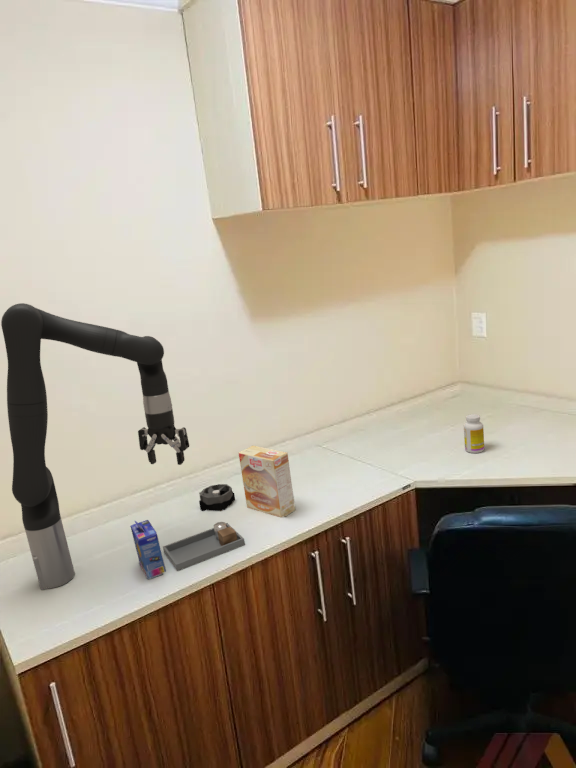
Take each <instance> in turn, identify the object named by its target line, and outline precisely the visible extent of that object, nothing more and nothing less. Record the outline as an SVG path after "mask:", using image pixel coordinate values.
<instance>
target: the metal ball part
mask: <svg viewBox="0 0 576 768" xmlns="http://www.w3.org/2000/svg"><path fill="white" fill-rule="evenodd" d="M226 523H227V522H224V521H218V522H215V524H213V528H214V531H215V537H216V540H219V538H218V532H217V531H219V530H222V529H225V528H227V527H226Z"/></svg>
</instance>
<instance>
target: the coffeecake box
mask: <svg viewBox="0 0 576 768" xmlns="http://www.w3.org/2000/svg"><path fill="white" fill-rule="evenodd" d="M238 458H239V465H240V471H241V478H242V483H243V490H244V496H245V502H246V508H248V509H250V510H253V511H257V512H260V513H264V514H266V515H270V516H275V517H277V518H283V517H285V518H286V517H287V516H288V515H290V514H292V513H293V512H295V511H296V506H295V505H296V504H295V499H294V490H293V482H292V475H291V469H290V468H291V466H290V462H289V454H288V452H285V451H281V450H276V449H271V448H267V447H262V446H257V445H251V446H249V447H247V448H246V449H245V448H244V449H243V450H241V451H239V452H238Z"/></svg>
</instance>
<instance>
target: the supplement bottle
mask: <svg viewBox="0 0 576 768" xmlns="http://www.w3.org/2000/svg"><path fill="white" fill-rule="evenodd" d="M465 419H466V422H465V423H463V434H464V435H463V436H464V437H463V438H464V450H465V451H466V452H467V453H469V454H470V453H471V454H477V453H478V454H479V453H482V452H484V451H485V435H484V434H485V433H484V430H485V429H484V424H483V422H481V421H480V420H481V416H480V415H479V414H477V413H475V414H474V413H472V414H467V415H466V416H465Z"/></svg>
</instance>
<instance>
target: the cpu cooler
mask: <svg viewBox="0 0 576 768" xmlns="http://www.w3.org/2000/svg"><path fill="white" fill-rule="evenodd" d="M198 495H199V501H198V502H199V509H200V510H201V511H200V512H205V511H215V512H222V511H225V510H227V508H228V507H230V506H231V505H232V503H233V502H234V501H236V495H235V492H234V491H233V488H232V486H230V485H229V484H227V483H225V484H224V483H223V484H222V483H220V484H219V483H218V484H213V485H210V486H207V487H205V488H203V489H202V490H201V491H200V492H198Z"/></svg>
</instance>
